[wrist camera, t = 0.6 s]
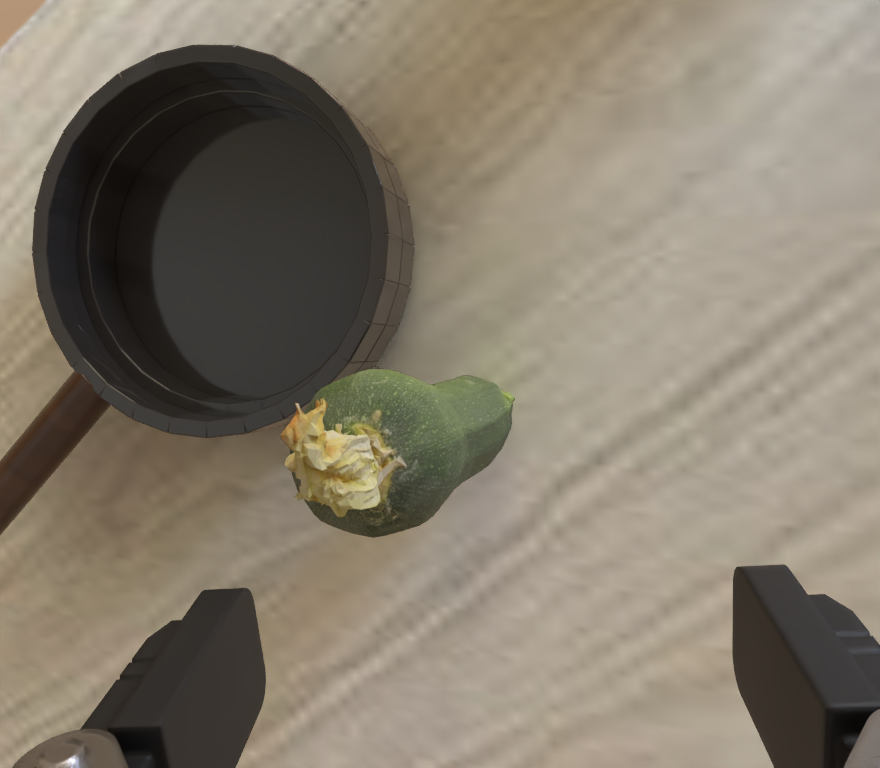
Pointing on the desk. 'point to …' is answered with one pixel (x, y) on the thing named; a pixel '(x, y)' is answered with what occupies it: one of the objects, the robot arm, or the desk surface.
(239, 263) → the pan
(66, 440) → the pan handle
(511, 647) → the desk surface
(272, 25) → the desk surface
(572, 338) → the desk surface
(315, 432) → the vegetable
